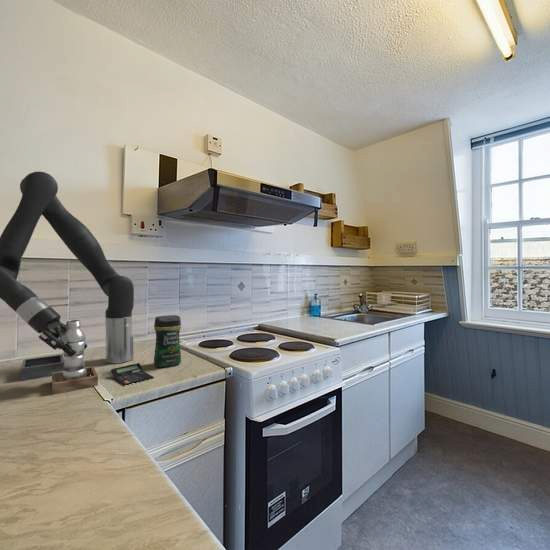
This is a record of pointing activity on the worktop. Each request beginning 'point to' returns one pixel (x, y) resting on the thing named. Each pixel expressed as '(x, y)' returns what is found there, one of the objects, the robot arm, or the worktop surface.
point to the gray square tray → (41, 367)
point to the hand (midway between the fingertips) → (79, 351)
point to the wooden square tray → (73, 381)
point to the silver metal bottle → (76, 364)
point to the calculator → (130, 374)
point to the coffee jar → (167, 341)
